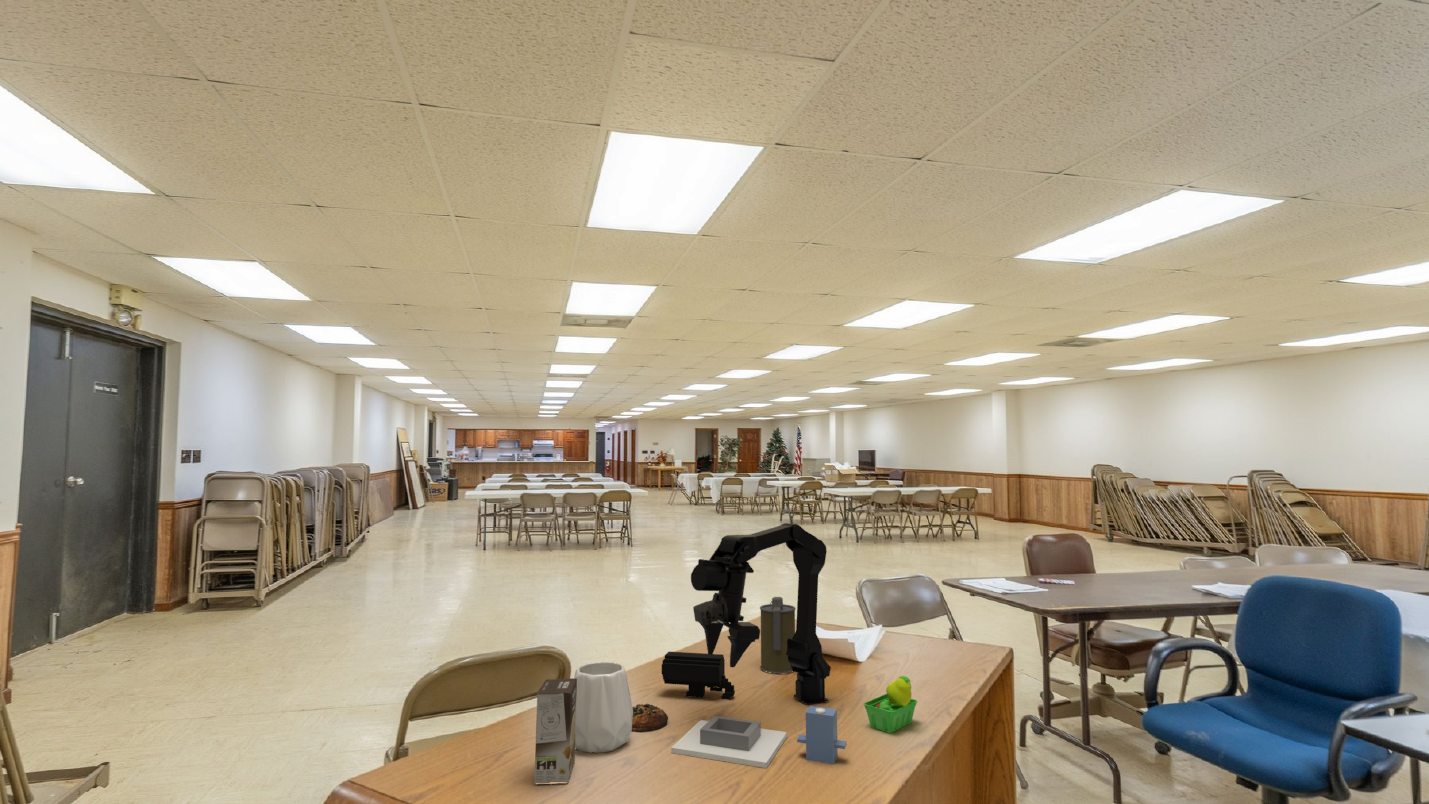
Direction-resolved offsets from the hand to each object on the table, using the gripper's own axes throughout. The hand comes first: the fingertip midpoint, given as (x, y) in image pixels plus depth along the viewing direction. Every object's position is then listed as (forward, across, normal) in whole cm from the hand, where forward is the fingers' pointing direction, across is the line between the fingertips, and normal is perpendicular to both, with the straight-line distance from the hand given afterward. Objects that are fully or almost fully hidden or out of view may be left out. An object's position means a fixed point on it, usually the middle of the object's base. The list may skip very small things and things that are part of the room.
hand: (720, 660), depth 150 cm
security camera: (+15, -18, +8) cm, 25 cm away
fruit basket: (+8, +22, +34) cm, 41 cm away
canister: (+11, -25, +39) cm, 48 cm away
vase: (+18, -4, -25) cm, 31 cm away
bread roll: (+17, -9, -12) cm, 23 cm away
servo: (+11, +27, +9) cm, 30 cm away
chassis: (+14, +12, -3) cm, 18 cm away
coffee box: (+19, +5, -38) cm, 42 cm away
